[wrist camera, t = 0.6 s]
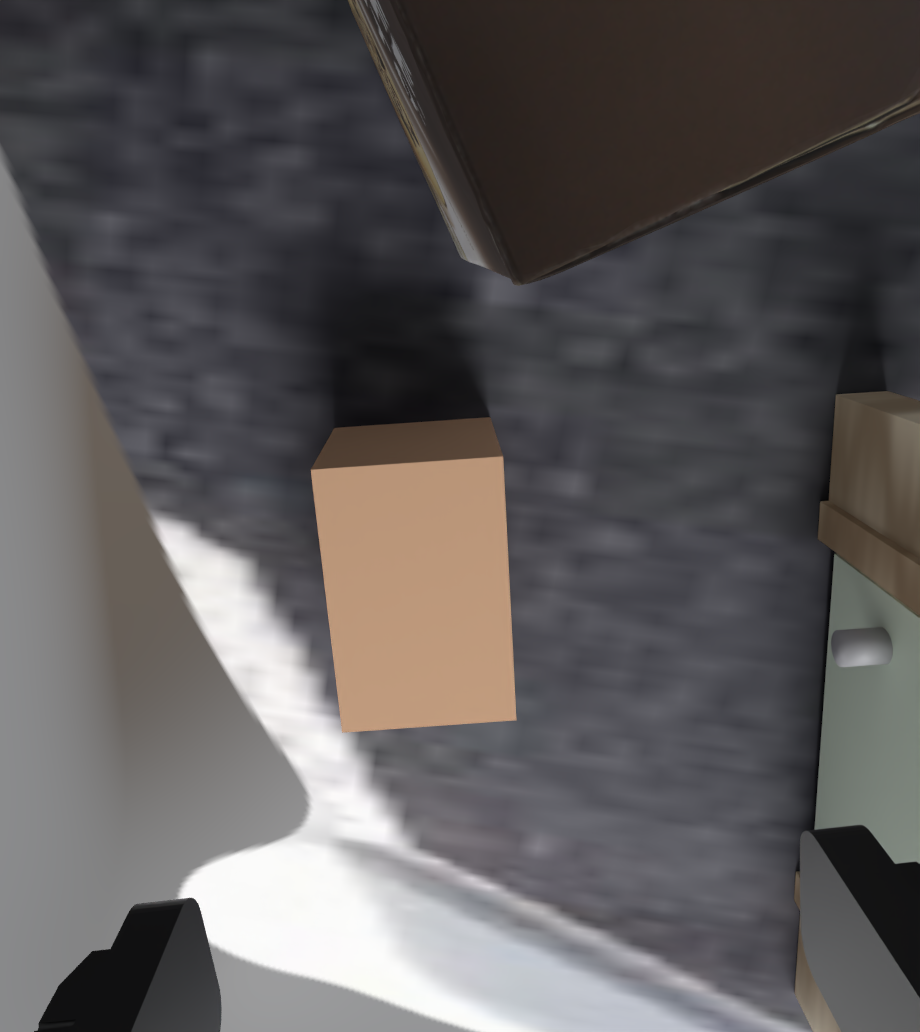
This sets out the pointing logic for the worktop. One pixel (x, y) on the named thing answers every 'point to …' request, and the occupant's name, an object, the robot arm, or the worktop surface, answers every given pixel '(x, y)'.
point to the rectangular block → (416, 573)
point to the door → (871, 715)
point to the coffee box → (626, 108)
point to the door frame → (869, 542)
